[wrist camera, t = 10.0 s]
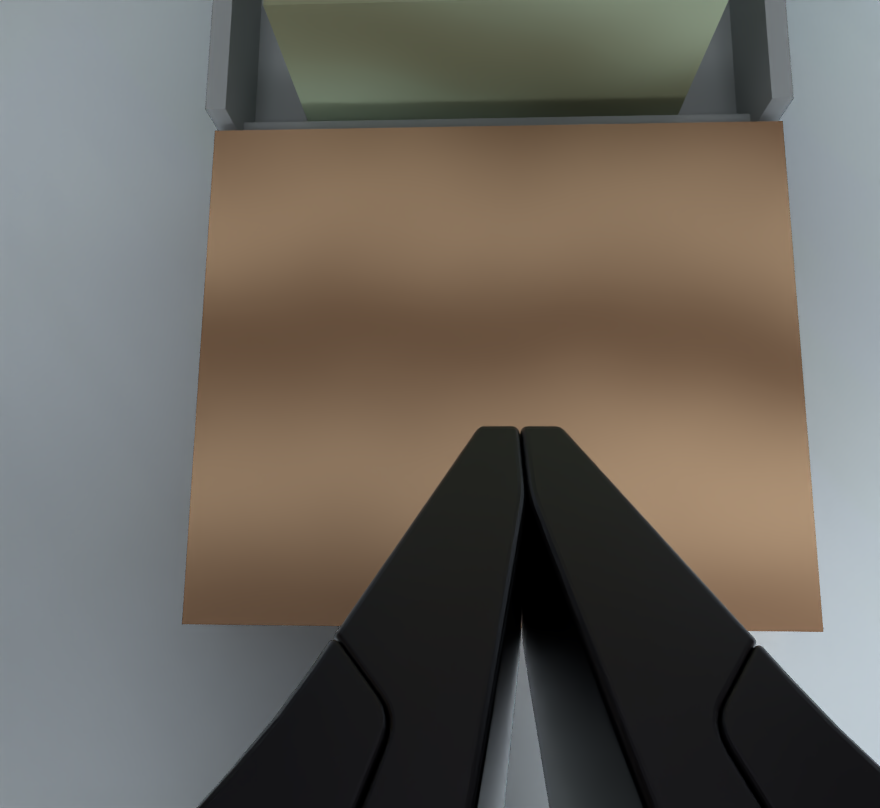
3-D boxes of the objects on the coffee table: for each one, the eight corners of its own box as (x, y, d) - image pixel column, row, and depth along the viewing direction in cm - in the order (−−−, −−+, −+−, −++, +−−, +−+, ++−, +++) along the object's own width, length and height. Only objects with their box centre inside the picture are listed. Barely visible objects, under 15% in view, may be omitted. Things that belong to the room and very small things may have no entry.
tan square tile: (780, 623, 20) (823, 632, 18) (217, 616, 21) (182, 624, 18) (749, 169, 22) (782, 121, 20) (243, 176, 23) (215, 130, 20)
